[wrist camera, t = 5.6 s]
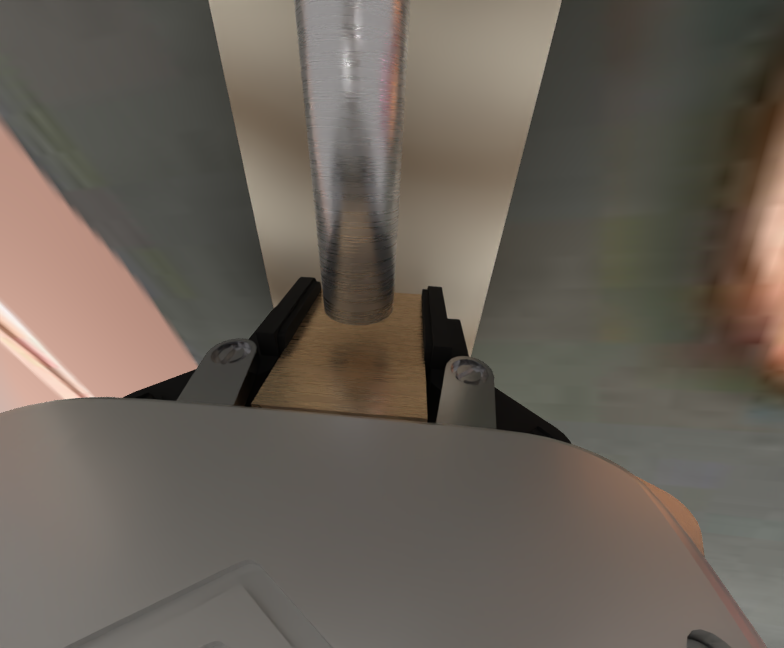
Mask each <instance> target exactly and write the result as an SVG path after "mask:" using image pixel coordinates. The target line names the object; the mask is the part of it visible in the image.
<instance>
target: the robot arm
mask: <svg viewBox="0 0 784 648" xmlns="http://www.w3.org/2000/svg"><path fill="white" fill-rule="evenodd" d="M320 292H321V283H320V282H319V281H316V279H315V278H313V277H300V278H299V279H298V280H297V281H296V283H295V284H294V285H293V286H292V288H291V289H290V290H289V291H288V293H287V294H286V295H285V296H284V297H283V299H282V300H281V301H280V302H279V304H278V305H277V306H276V307H275V308H274V309H273V310H272V311H271V312H270V314H269V315H268V316H267V317H266V319H265V320H264V321H263V322H262V324H261V325H260V326H259V327H258V328H257V330H256V331H255V332H254V333H253V335H252V336H251V337H250V338H249V339H240V338H238V339H231V340H227V341H223V342H221V343H219V344H217V345H215V346H214V347H212V348H211V349H210V350H209V351H208V352H207V353H206V355H205V356H204V358H203V360H202V361H201V363H200V364H199V366H198V367H197V369H196V370H193V371H190V372H187V373H184V374H182V375H179V376H176V377H174V378H171V379H168V380H166V381H163V382H160V383H158V384H155V385H152V386H150V387H147V388H144V389H141V390H139V391H136V392H134V393H131V394H129V395H127V396H125V397H123V398H115V397H90V398H75V399H65V400H55V401H50V402H45V403H39V404H34V405H28V406H24V407H21V408H16V409H13V410H10V411H6V412H3V413H0V648H767V646H766V645H765V643H764V642H763V640H762V639H761V637H760V636H759V634H758V633H757V631H756V630H755V629H754V627H753V626H752V624H751V623H750V621H749V620H748V618H747V617H746V616H745V614H744V613H743V611H742V610H741V608H740V607H739V606H738V604H737V603H736V601H735V600H734V598H733V597H732V596H731V594H730V593H729V591H728V590H727V588H726V587H725V586H724V584H723V583H722V581H721V580H720V578H719V577H718V575H717V574H716V573H715V571H714V570H713V568H712V567H711V565H710V564H709V563H708V561H707V560H706V559H705V557H704V549H703V542H702V535H701V531H700V528H699V525H698V522H697V521H696V519H695V518H694V516H693V515H692V514H691V512H690V511H689V510H688V509H687V508H686V507H685V506H684V505H683V504H682V503H681V502H680V501H679V500H677V499H676V498H674V497H673V496H671V495H670V494H668V493H667V492H665V491H663V490H661V489H659V488H657V487H655V486H654V485H652V484H650V483H648V482H646V481H644V480H642V479H640V478H638V477H636V476H634V475H633V474H632V473H630V472H629V471H627V470H626V469H625V468H623V467H621V466H620V465H618V464H616V463H614V462H612V461H611V460H609V459H607V458H604V457H602V456H600V455H598V454H596V453H593V452H591V451H588V450H586V449H583V448H581V447H578V446H576V445H573V444H571V442H570V441H569V439H568V438H567V437H566V436H565V435H564V434H563V433H562V432H561V431H559V430H558V429H557V428H556V427H554V426H553V425H551V424H549V423H548V422H546V421H545V420H543V419H542V418H540V417H539V416H537V415H536V414H534V413H533V412H531V411H530V410H528V409H527V408H525V407H524V406H522V405H521V404H519V403H518V402H516V401H515V400H513V399H512V398H510V397H508V396H507V395H505V394H504V393H502V392H501V391H499V390H498V389H496V388H495V387H494V375H493V371H492V370H491V369H490V367H489V366H488V365H487V364H485V363H484V362H482V361H480V360H479V359H476V358H473V357H469V354H468V350H467V346H466V342H465V338H464V334H463V329H462V325H461V322H460V320H459V319H448V318H447V313H446V307H445V302H444V296H443V291H442V287H437V286H428V288H427V289H422V296H421V301H422V325H423V349H424V359H425V375H426V396H427V418H428V419H427V422H417V421H407V420H396V419H385V418H374V417H363V416H351V415H340V414H328V413H317V412H305V411H293V410H281V409H270V408H257V407H252V405H251V403H252V402H253V400H254V398H255V397H256V395H257V393H258V392H259V390H260V389H261V387H262V385H263V384H264V382H265V380H266V379H267V377H268V375H269V374H270V372H271V371H272V369H273V367H274V366H275V364H276V362H277V361H278V359H279V357H280V356H281V354H282V352H283V351H284V349H286V348H287V346H288V344H289V343H290V341H291V339H292V338H293V336H294V334H295V333H296V331H297V330H298V328H299V326H300V325H301V323H302V321H303V320H304V318H305V316H306V315H307V313H308V311H309V310H310V308H311V306H312V305H313V303H314V301H315V300H316V298H317V296H318V295H319V293H320Z"/></svg>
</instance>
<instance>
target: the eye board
mask: <svg viewBox="0 0 784 648" xmlns="http://www.w3.org/2000/svg"><path fill="white" fill-rule="evenodd" d="M561 2H562V0H410V17H409V35H408V53H407V71H406V89H405V107H404V125H403V143H402V161H401V178H400V196H399V214H398V232H397V250H396V268H395V286H394V293H409V294H422V289H427V288H428V286H437V287H442V291H443V296H444V302H445V307H446V313H447V318H448V319H459V320H460V322H461V325H462V329H463V334H464V338H465V342H466V346H467V350H468V354H469V357H471V353H472V349H473V345H474V342H475V338H476V334H477V330H478V326H479V322H480V318H481V314H482V310H483V306H484V302H485V299H486V295H487V291H488V287H489V283H490V279H491V275H492V271H493V267H494V263H495V260H496V256H497V252H498V248H499V244H500V240H501V236H502V232H503V228H504V224H505V220H506V217H507V213H508V209H509V205H510V201H511V197H512V193H513V189H514V185H515V181H516V178H517V174H518V170H519V166H520V162H521V158H522V154H523V150H524V146H525V142H526V138H527V135H528V131H529V127H530V123H531V119H532V115H533V111H534V107H535V103H536V99H537V96H538V92H539V88H540V84H541V80H542V76H543V72H544V68H545V64H546V60H547V56H548V53H549V49H550V45H551V41H552V37H553V33H554V29H555V25H556V21H557V17H558V14H559V10H560V6H561ZM209 5H210V10H211V14H212V19H213V24H214V29H215V33H216V38H217V43H218V47H219V52H220V57H221V62H222V66H223V71H224V76H225V81H226V85H227V90H228V95H229V100H230V104H231V109H232V114H233V118H234V123H235V128H236V133H237V137H238V142H239V147H240V152H241V156H242V161H243V166H244V170H245V175H246V180H247V185H248V189H249V194H250V199H251V204H252V208H253V213H254V218H255V222H256V227H257V232H258V237H259V241H260V246H261V251H262V256H263V260H264V265H265V270H266V274H267V279H268V284H269V289H270V293H271V298H272V303H273V308H275V307H276V306H277V305H278V304H279V302H280V301H281V300H282V299H283V297H284V296H285V295H286V294H287V293H288V291H289V290H290V289H291V288H292V286H293V285H294V284H295V283H296V281H297V280H298V279H299V278H300V277H313V278H315V279H316V281H319V282H320V283H321V289H322V280H321V270H320V260H319V250H318V240H317V229H316V219H315V209H314V199H313V189H312V179H311V169H310V158H309V148H308V138H307V128H306V118H305V108H304V97H303V87H302V77H301V67H300V57H299V47H298V36H297V26H296V16H295V6H294V0H209Z"/></svg>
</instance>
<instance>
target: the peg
mask: <svg viewBox="0 0 784 648" xmlns="http://www.w3.org/2000/svg"><path fill="white" fill-rule="evenodd" d="M294 6H295V16H296V26H297V36H298V47H299V57H300V67H301V77H302V87H303V97H304V108H305V118H306V128H307V138H308V148H309V158H310V169H311V179H312V189H313V199H314V209H315V219H316V229H317V240H318V250H319V260H320V270H321V280H322V289H321V292H320V293H319V295H318V296H317V298H316V300H315V301H314V303H313V305H312V306H311V308H310V310H309V311H308V313H307V315H306V316H305V318H304V320H303V321H302V323H301V325H300V326H299V328H298V330H297V331H296V333H295V334H294V336H293V338H292V339H291V341H290V343H289V344H288V346H287V348H286V349H284V351H283V352H282V354H281V356H280V357H279V359H278V361H277V362H276V364H275V366H274V367H273V369H272V371H271V372H270V374H269V375H268V377H267V379H266V380H265V382H264V384H263V385H262V387H261V389H260V390H259V392H258V393H257V395H256V397H255V398H254V400H253V402H252V403H251V405H252V407H257V408H270V409H281V410H293V411H305V412H317V413H328V414H340V415H351V416H363V417H374V418H385V419H396V420H407V421H417V422H427V419H428V418H427V396H426V375H425V359H424V349H423V325H422V301H421V296H422V294H409V293H394V286H395V268H396V250H397V232H398V214H399V196H400V178H401V161H402V143H403V125H404V107H405V89H406V71H407V53H408V35H409V17H410V0H294Z"/></svg>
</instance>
